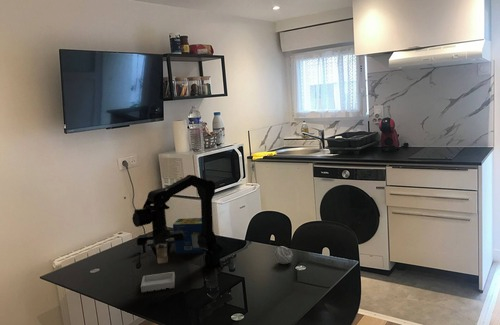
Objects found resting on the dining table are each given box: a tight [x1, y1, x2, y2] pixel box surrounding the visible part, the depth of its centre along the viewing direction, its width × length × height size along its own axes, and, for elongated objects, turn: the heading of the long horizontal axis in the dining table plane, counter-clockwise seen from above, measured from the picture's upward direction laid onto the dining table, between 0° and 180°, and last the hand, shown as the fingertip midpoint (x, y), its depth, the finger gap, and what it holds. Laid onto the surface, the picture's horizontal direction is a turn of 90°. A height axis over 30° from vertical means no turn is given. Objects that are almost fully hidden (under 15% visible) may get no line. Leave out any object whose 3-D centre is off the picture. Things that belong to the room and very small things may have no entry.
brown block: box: [156, 243, 169, 264], centre depth 177 cm, size 4×6×7 cm, turn 10°
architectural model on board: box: [137, 233, 159, 254], centre depth 225 cm, size 11×3×10 cm, turn 150°
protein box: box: [172, 217, 205, 255], centre depth 218 cm, size 10×15×16 cm
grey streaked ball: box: [274, 245, 294, 265], centre depth 190 cm, size 8×8×8 cm
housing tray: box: [140, 271, 176, 293], centre depth 179 cm, size 13×11×2 cm
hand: (162, 257), depth 177 cm, fingers closed on brown block, 4 cm apart
